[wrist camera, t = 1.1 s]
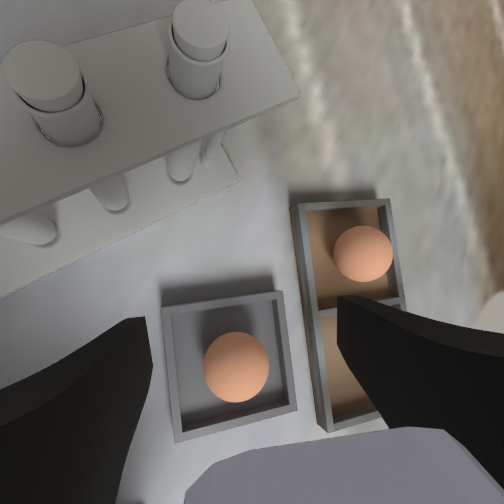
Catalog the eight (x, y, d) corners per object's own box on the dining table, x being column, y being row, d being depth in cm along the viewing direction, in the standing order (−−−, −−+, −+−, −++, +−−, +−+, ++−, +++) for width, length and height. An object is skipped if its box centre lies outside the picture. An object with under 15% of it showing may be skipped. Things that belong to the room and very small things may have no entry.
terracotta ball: (261, 381, 21) (283, 404, 17) (202, 395, 20) (212, 422, 16) (254, 323, 21) (274, 331, 17) (195, 332, 20) (203, 344, 16)
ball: (371, 278, 24) (410, 277, 20) (326, 285, 23) (359, 285, 19) (364, 228, 24) (401, 218, 21) (319, 232, 23) (350, 222, 19)
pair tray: (405, 398, 25) (421, 405, 23) (317, 423, 22) (328, 433, 21) (377, 203, 26) (389, 198, 24) (289, 208, 23) (297, 203, 22)
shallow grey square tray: (288, 402, 22) (297, 410, 20) (173, 431, 19) (174, 443, 18) (274, 290, 22) (282, 290, 21) (161, 306, 20) (161, 308, 19)
